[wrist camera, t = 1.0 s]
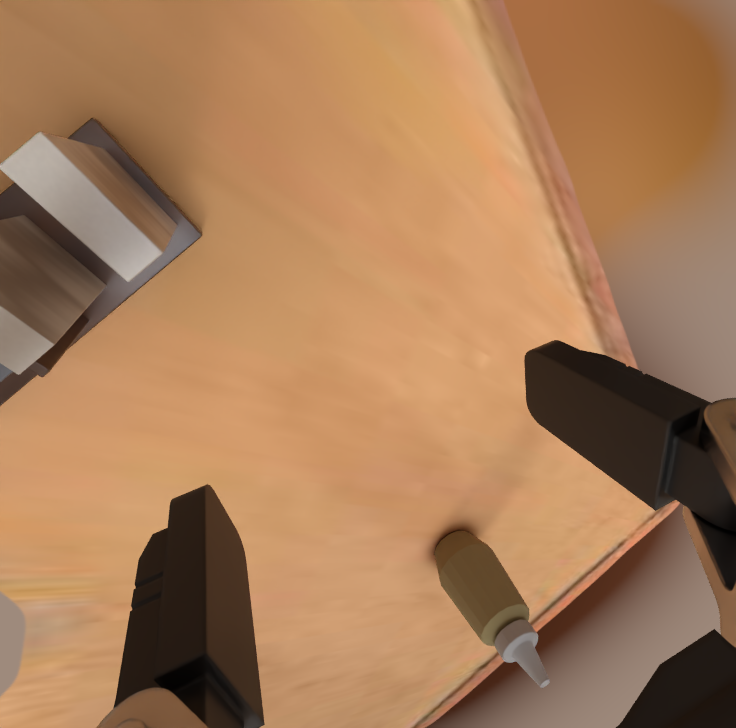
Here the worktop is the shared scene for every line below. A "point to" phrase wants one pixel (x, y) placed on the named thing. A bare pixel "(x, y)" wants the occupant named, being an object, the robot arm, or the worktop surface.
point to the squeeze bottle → (489, 600)
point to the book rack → (75, 244)
